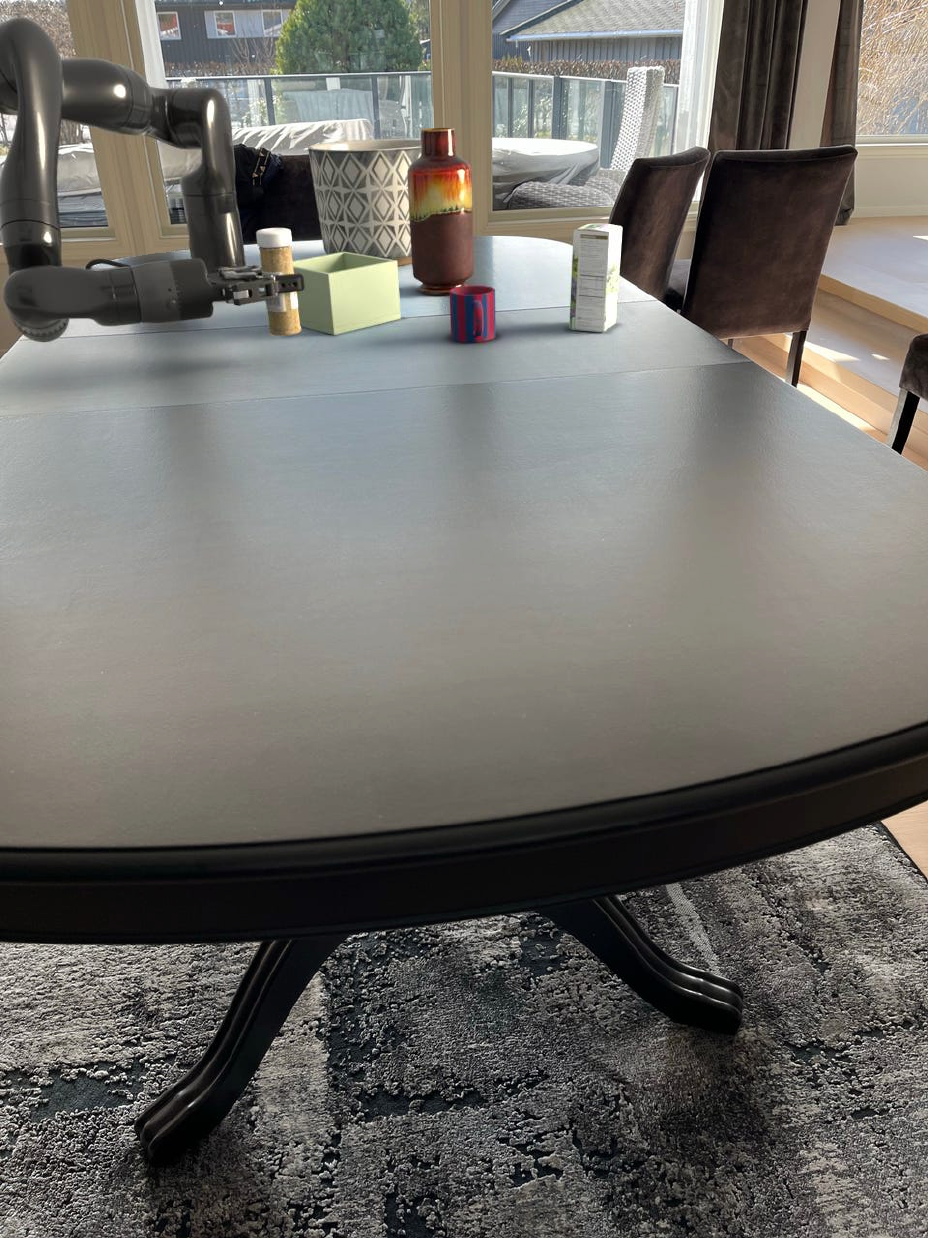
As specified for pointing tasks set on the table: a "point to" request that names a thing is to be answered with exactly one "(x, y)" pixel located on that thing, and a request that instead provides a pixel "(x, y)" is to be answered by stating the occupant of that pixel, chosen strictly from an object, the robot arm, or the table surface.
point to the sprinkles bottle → (279, 262)
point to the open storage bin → (347, 292)
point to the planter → (364, 196)
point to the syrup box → (595, 277)
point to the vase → (440, 214)
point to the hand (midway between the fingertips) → (298, 278)
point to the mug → (472, 313)
